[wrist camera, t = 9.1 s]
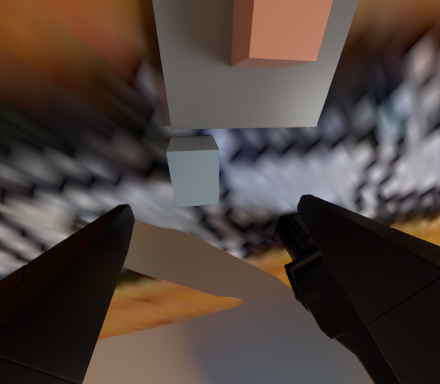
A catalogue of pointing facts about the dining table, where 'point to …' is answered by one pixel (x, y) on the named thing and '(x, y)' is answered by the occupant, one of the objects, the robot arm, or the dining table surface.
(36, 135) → the dining table surface
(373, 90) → the dining table surface
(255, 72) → the base plate
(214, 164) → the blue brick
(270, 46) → the terracotta brick
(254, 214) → the dining table surface
